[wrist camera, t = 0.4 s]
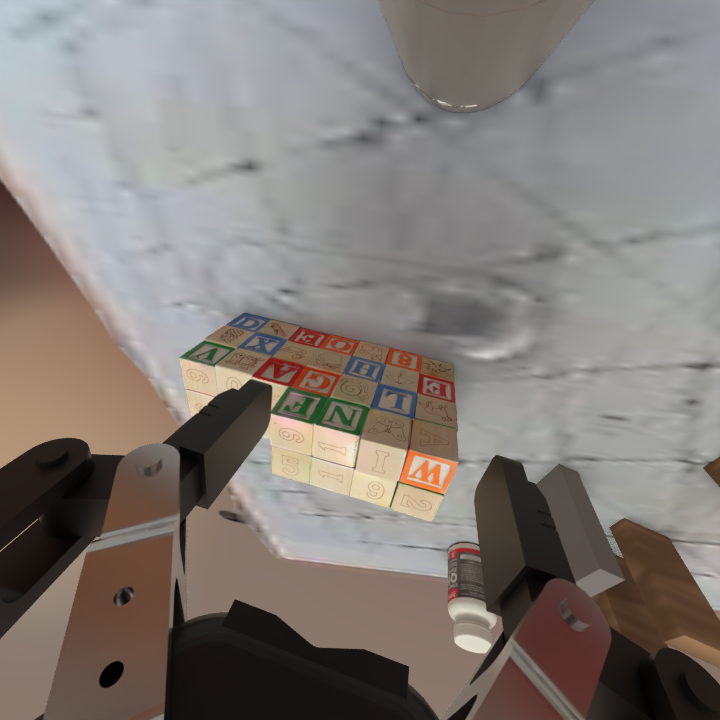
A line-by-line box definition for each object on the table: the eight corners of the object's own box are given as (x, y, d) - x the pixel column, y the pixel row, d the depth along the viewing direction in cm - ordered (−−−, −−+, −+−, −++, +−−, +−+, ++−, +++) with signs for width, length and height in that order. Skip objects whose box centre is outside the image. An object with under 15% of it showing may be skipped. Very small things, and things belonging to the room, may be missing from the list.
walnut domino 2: (624, 518, 33) (684, 635, 24) (668, 537, 33) (745, 662, 24) (609, 527, 34) (662, 642, 26) (652, 546, 34) (720, 668, 25)
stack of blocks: (246, 362, 35) (161, 441, 24) (243, 311, 32) (144, 375, 21) (437, 414, 32) (432, 526, 22) (456, 363, 29) (461, 466, 18)
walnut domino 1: (586, 542, 36) (629, 653, 27) (627, 560, 36) (682, 678, 27) (574, 550, 37) (611, 659, 28) (613, 567, 37) (663, 682, 28)
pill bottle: (446, 539, 42) (445, 628, 33) (489, 543, 40) (500, 638, 32) (449, 562, 44) (449, 650, 36) (490, 567, 42) (500, 661, 34)
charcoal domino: (528, 491, 34) (554, 593, 26) (559, 464, 31) (599, 568, 23) (545, 498, 34) (577, 604, 26) (577, 472, 31) (625, 579, 23)
